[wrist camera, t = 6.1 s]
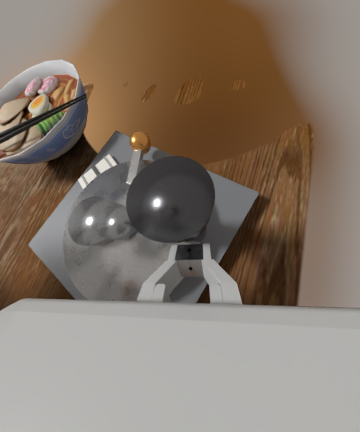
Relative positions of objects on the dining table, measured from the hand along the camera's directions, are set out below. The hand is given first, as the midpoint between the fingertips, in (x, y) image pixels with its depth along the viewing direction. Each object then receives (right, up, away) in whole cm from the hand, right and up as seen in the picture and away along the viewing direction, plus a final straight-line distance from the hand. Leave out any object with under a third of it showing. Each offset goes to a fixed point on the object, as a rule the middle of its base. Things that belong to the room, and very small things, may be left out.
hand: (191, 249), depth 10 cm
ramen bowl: (-27, +21, +20) cm, 39 cm away
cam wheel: (-7, +3, +8) cm, 11 cm away
